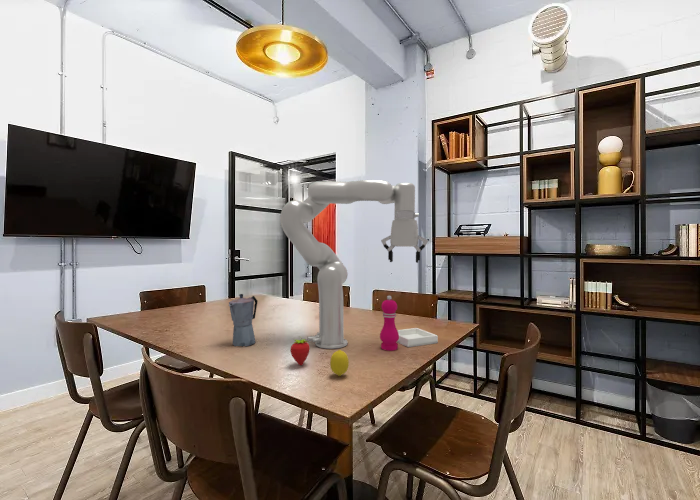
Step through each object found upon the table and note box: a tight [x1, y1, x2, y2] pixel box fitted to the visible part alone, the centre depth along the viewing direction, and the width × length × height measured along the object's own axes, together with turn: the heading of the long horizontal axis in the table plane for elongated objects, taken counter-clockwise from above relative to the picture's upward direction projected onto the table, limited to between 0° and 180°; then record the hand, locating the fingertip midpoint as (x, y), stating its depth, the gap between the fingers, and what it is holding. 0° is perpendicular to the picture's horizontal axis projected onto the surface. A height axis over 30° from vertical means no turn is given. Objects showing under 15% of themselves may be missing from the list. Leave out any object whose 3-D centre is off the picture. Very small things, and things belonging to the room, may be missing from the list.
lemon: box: [329, 349, 350, 377], centre depth 106 cm, size 6×6×8 cm
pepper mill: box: [379, 295, 399, 352], centre depth 134 cm, size 7×7×20 cm
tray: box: [396, 327, 439, 348], centre depth 145 cm, size 14×14×3 cm
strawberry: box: [290, 337, 311, 367], centre depth 116 cm, size 6×8×10 cm
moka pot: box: [228, 293, 258, 348], centre depth 141 cm, size 10×15×20 cm, turn 158°
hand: (404, 262), depth 133 cm, fingers open, 9 cm apart
